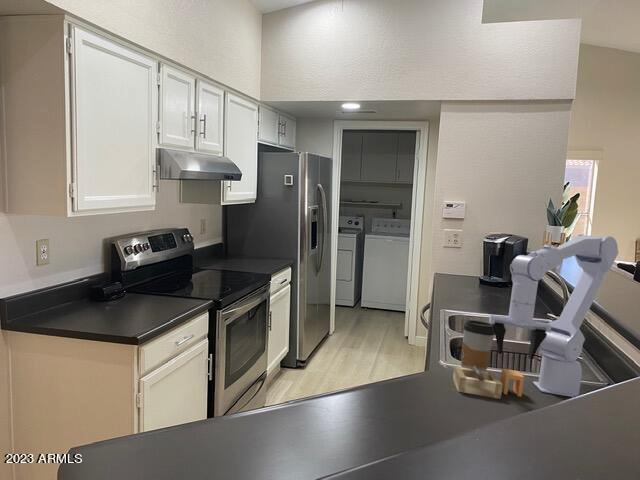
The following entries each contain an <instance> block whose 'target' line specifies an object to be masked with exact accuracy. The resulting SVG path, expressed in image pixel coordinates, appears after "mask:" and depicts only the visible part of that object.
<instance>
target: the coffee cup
mask: <svg viewBox="0 0 640 480" xmlns="http://www.w3.org/2000/svg"><path fill="white" fill-rule="evenodd" d="M462 329H463V334H462V335H463V336H462V345H461V360H460V363H461V364H460V367H462V368H468V369H472V367H473V366H474V365H475V366H477V368H478V369H479V370H480V371H486V372H487V370H488V366H489V361H490V358H491V357H490V356H491V354H492V346H493V342H494V337H495V332H494V329H493V326H492V324H491V323H489V322H486V321H485V322H484V321H480V320H474V319H473V320H472V319H468V320H466V321H465V323H464V324H463V328H462Z"/></svg>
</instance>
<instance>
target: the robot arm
mask: <svg viewBox="0 0 640 480" xmlns="http://www.w3.org/2000/svg"><path fill="white" fill-rule="evenodd" d="M618 255H619V248H618V243H617V240H616V238H614V237H613V236H601V235H600V236H598V235H587V234H578V235H574V236H572V237H571V239H570V240H568V241H566V242H564V243H563V244H560V245H559V246H552V245H549V244H547V245H546V244H545V245H543V246H542V248H541V249H538V250H536V251H534V250H533V251H530V252H529V254H527V255H524V254H519V255H517V256H515V258H513V260H512V261H511V264H510V265H509V270H510V273H511V283H512V288H511V296H510V302H509V303H510V304H509V310H508V316H503V315H494V314H493V315H492V314H489V319H488V323H489V324H492V326H493V329H494V332H495V335H494V337H495V339H496V340H495V341H496V352H497V354H498V355H499V354H500V355H502V354H503V348H504V339H505V335H506V332H507V329H506V326H509V327H515V328H521V329H526V330H530V341H529V348H528V359H530V360H534V359H535V355H536V353H537V351H538V350H540V352H539V354H541V363H540V369H539V377H538V381H532V383H533V384H534V386H535V387H537V389H538V390H540V392H543V393H546V394H552V395H559V396H565V397H570V398H575V397H574V396H577V395H579V396H580V389H581V383H582V382H581V381H582V373H583V371H582V364H581V363H580V362H579V361H578V360H577V359H578V358H579V357H580V356H581V355H582V352H583V345H584V342H585V341H586V338H585V336H584V334H583V332H582V331H581V330H580V328H581V325H582V324H583V322H584V321H585V318H586V316H587V314H588V313H589V310H590V308H591V306H592V304H593V302H594V300H595V298H596V297H597V295H598V292H599V290H600V289H601V286H602V285H603V283H604V281H605V278H606V277H607V275H608V272H609V271H610V270H611V269H612V267H613V264H614V262H615V261H616V259H617V257H618ZM572 257H575V260H576V263H577V265H578V266H579V268H580V269H582V274H581V276H579V277H580V278H579V279H578V281H577V283H576V285H575V287H574V289H573V290H572V293H571V294H570V297H569V299H568V300H567V302H566V304H565V306H564V308H563V310H562V312H561V314H560V316H559V317H558V319H556V320H553V321H549V322H548V323H547V322H546V323H545V322H540V321H535V320H534V313H535V312H534V311H535V307H536V305H535V304H536V301H537V291H538V285H539V281H540V280H542V278H543V277H544V276H545V275H546V273H548V272H549V271H551V270H553V269H555V268H558V267H559V266H561V265H562V263H563V261H564V260H566V259H569V258H572Z"/></svg>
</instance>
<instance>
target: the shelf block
mask: <svg viewBox="0 0 640 480" xmlns="http://www.w3.org/2000/svg"><path fill="white" fill-rule="evenodd" d="M452 382H453V383H454V385H455V387H456V390H457V392H459V393H466V394H471V395H476V396H481V397H486V398H487V397H488V398H491V399H492V398H493V399H501V398H502V393H503V392H502V386H503V384H502V383H501V382H500V379H499V378H498V377H497V374H496V373H494V372H493V371H492V372H491V371H490V372H489V371H487V370H486V371H480V370H479V369H478V368H477V366H475V365H474V366H473V367H472V369H468V368H462V367H461V366H454V368H453V376H452Z"/></svg>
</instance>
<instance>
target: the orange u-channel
mask: <svg viewBox="0 0 640 480" xmlns="http://www.w3.org/2000/svg"><path fill="white" fill-rule="evenodd" d="M499 380H500V382H501V383H502V384H503V386H502V393H503V394H504V395H508V392H509V391H508V390H509V383H510V380H513V387H512V391H514V394H516V396H517V397H522V395H523V390H524V389H523V387H524V383H525V382H524V381H525V376H524V375H523V374H522V373H521V372H520V371H518V370H512V369H507V368H501V373H500V379H499Z"/></svg>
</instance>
